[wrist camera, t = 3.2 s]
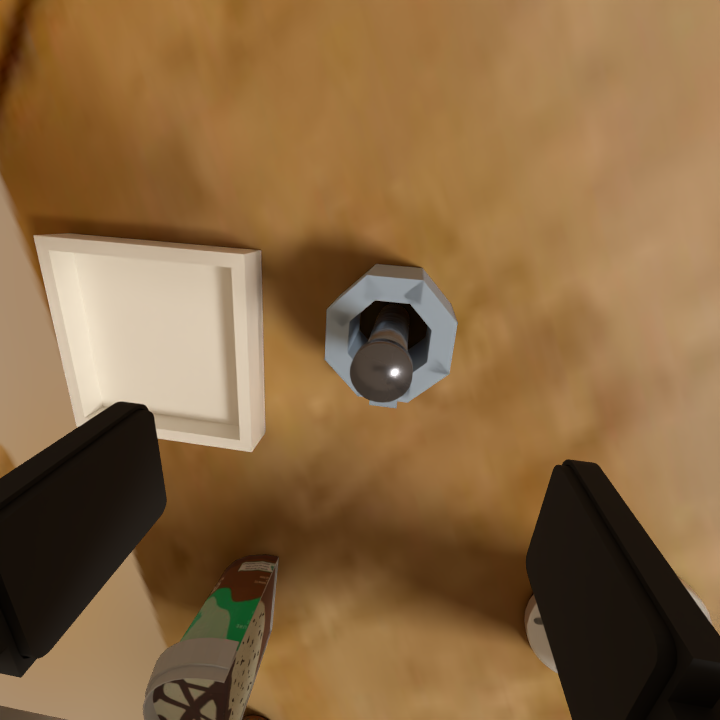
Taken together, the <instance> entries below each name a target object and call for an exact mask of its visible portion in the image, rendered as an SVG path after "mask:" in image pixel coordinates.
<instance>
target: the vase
mask: <svg viewBox="0 0 720 720" xmlns="http://www.w3.org/2000/svg"><path fill="white" fill-rule="evenodd" d="M242 720H267V719H265V718H263V717H260V716H255V715H250V716H246V717H244V718H242Z"/></svg>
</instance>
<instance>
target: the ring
mask: <svg viewBox="0 0 720 720" xmlns="http://www.w3.org/2000/svg"><path fill="white" fill-rule="evenodd" d="M375 300H376V301H386V302H396V303H406V304H411V306H412V307H413V308H414V309H415V311H416V312H417V313H418V314H419V315H420V317H421V318H422V319H423V320H424V322H425V323H426V324H427V331H426V337H425V338H423V339H422V340H421V341H419V342H418V343H417V344H415V345H414V346H413V347H411V348H410V349H408V350H407V351H408V353H409V355H410V357H411V359H412V363H413V376H412V382H411V385H410V387H409V389H408V390H407V392H406V393H405V394H404V395H403V396H401V397H400V398H398V399H396V400H394V401H391V402H384V403H381V402H374V401H371V400H370V402H369V405H375V406H383V407H391V408H396V407H397V401H400V402H409V401H410V400H412V399H413V398H415V397H416V396H418V395H419V394H421V393H422V392H424V391H425V390H426V389H428V388H429V387H431V386H432V385H434V384H435V383H437V382H438V381H440V380H441V379H443V378H444V377H445V376H447V375H449V374H450V373H449V372H450V366H451V360H452V354H453V348H454V342H455V336H456V330H457V324H458V322H457V319H456V317H455V314H454V311H453V308H452V305H451V303H450V302H449V301H448V300H447V298H446V297H445V296H444V295H443V293H442V292H441V291H440V290H439V288H438V287H437V286H436V285H435V283H434V282H433V281H432V279H431V278H430V277H429V276H428V274H427V273H426V272H425V271H424V269H423V268H417V267H405V266H394V265H383V264H375V265H374V266H373V267H372V268H371V269H370V270H369V271H368V272H366V273H365V274H364V275H363V276H362V277H361V278H359V279H358V280H357V281H356V282H355V283H354V284H352V285H351V286H350V287H349V288H348V289H347V290H346V291H344V292H343V293H342V294H341V295H340V296H339V297H338V298H337V299H336V300H335V301H334V302H333V303H332V304H331V305H330V306H329V307H328V308H327V317H326V342H325V360H326V361H327V362H328V363H329V365H330V366H331V367H332V368H333V369H334V370H335V371H336V372H337V373H338V375H339V376H340V377H341V378H342V379H343V380H344V381H345V382H346V383H347V385H348V386H349V387H350V388H351V389H352V390H353V391H354V392H355V393H356V395H357V396H361V397H363V396H362V395H360V394H359V393H358V392H357V390H356V389H355V388H354V386H353V384H352V382H351V378H350V366H351V363H352V361H353V358H354V356H355V354H356V352H357V351H358V349H359V348H360V347H361V346H362V345H363V344H365V343H366V342H368V339H367V338H366V337H365V336H364V334H363V333H362V332H361V331H360V330H359V328H360V314H361V312H362V311H363V310H364V309H365V308H366V307H368V306H369V305H370V304H371V303H372V302H374V301H375Z"/></svg>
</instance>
